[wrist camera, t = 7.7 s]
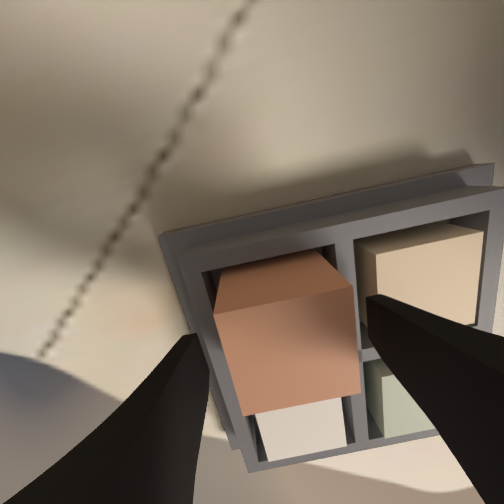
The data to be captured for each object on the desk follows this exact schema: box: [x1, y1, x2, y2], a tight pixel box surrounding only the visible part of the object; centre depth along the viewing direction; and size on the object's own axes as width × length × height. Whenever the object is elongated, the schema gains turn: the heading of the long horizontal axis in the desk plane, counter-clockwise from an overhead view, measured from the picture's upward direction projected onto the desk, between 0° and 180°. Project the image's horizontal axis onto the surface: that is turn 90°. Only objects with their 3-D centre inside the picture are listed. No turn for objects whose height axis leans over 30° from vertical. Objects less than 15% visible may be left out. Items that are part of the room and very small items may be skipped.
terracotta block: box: [213, 248, 361, 416], centre depth 11 cm, size 5×5×5 cm
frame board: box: [158, 163, 504, 473], centre depth 13 cm, size 17×16×4 cm
